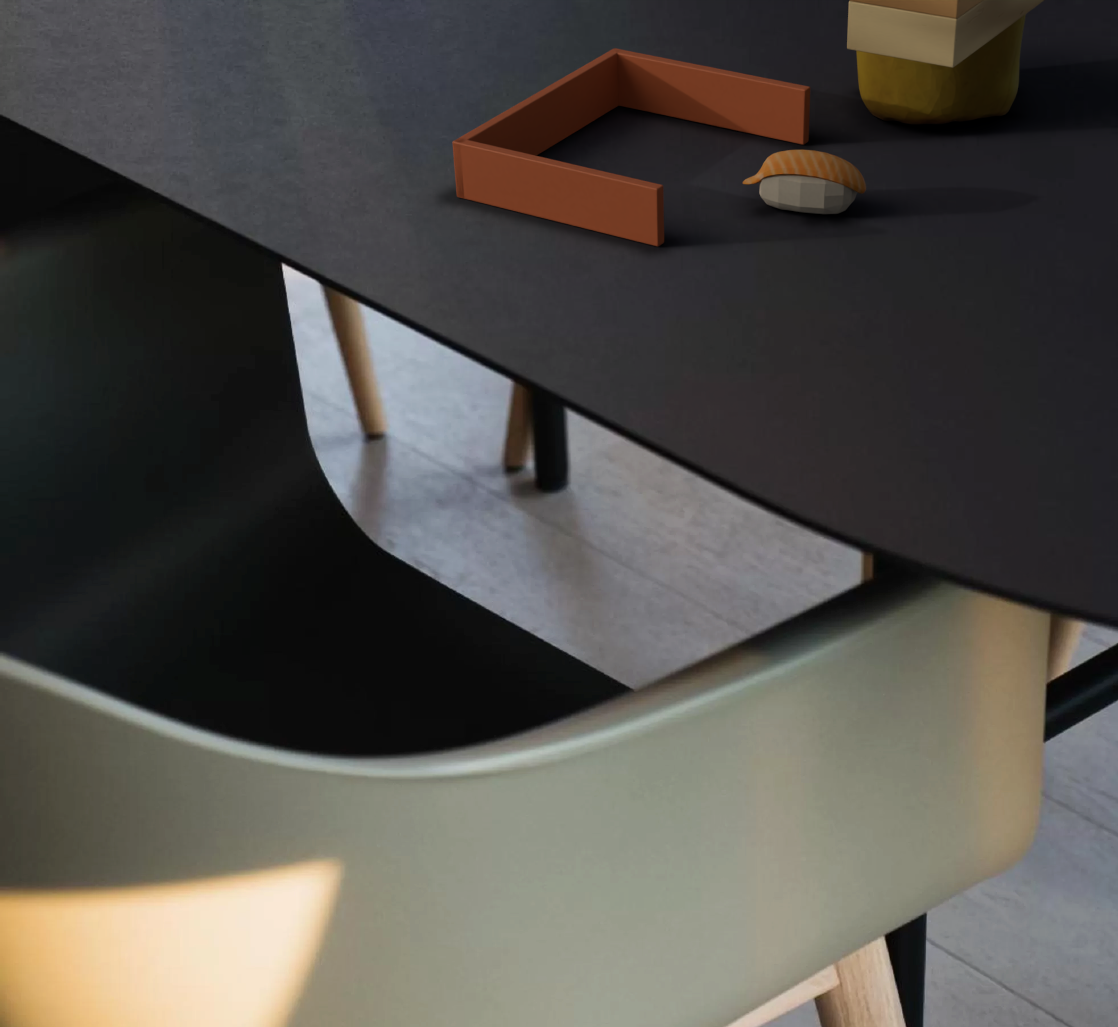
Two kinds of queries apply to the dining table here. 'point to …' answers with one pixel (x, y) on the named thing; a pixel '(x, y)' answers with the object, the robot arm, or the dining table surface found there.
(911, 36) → the brown boxy piece
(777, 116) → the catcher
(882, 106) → the mug
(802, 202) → the sushi
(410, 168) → the dining table surface
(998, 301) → the dining table surface
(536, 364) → the dining table surface
